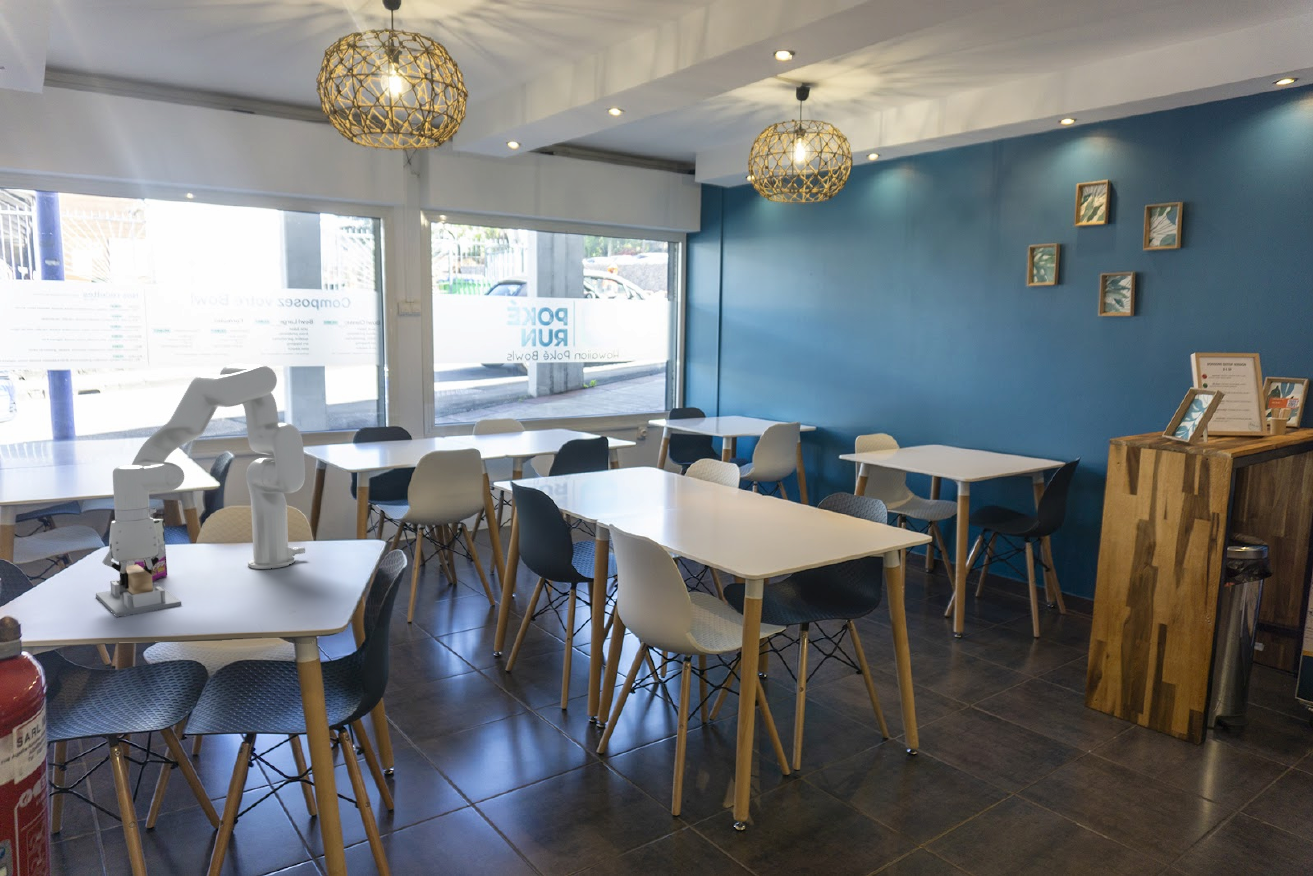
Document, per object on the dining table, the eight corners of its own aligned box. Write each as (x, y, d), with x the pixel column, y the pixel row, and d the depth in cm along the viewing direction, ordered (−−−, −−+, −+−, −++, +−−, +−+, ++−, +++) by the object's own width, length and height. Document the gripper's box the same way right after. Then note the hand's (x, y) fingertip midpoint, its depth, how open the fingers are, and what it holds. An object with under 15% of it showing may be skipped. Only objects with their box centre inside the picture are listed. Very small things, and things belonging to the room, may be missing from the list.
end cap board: (157, 586, 230) (156, 571, 230) (181, 605, 214) (180, 589, 214) (96, 597, 220) (95, 581, 220) (116, 617, 205) (115, 601, 204)
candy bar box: (152, 575, 241) (149, 517, 239) (168, 576, 240) (164, 518, 238) (120, 586, 230) (116, 526, 228) (136, 587, 229) (132, 527, 227)
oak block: (138, 581, 223) (137, 564, 223) (152, 593, 213) (152, 575, 213) (120, 584, 220) (119, 566, 220) (134, 596, 210) (133, 578, 210)
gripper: (165, 508, 223) (168, 577, 225) (90, 516, 212) (94, 589, 214) (173, 512, 218) (177, 583, 220) (96, 521, 206) (101, 595, 208)
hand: (136, 585), depth 217 cm, fingers closed on oak block, 4 cm apart
